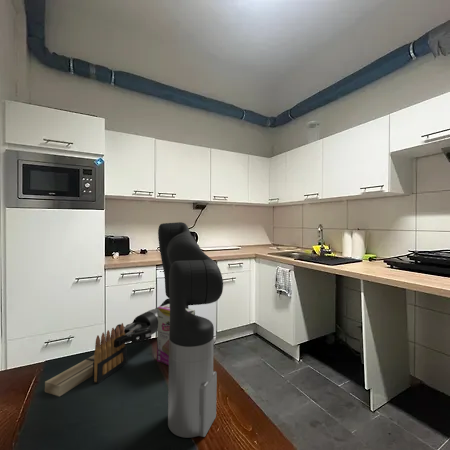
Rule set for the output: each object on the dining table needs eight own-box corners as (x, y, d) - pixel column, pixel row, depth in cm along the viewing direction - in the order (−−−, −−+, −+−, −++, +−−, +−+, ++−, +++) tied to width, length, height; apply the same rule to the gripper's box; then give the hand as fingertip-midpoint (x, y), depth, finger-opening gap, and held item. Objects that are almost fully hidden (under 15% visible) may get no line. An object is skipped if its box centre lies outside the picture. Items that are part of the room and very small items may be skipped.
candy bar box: (155, 361, 77) (156, 307, 78) (167, 355, 81) (168, 303, 82) (183, 373, 71) (184, 313, 72) (195, 365, 75) (195, 309, 76)
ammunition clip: (97, 384, 66) (97, 337, 66) (92, 382, 66) (92, 336, 66) (127, 362, 76) (127, 322, 76) (122, 361, 76) (121, 321, 76)
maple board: (110, 363, 76) (111, 355, 76) (59, 396, 61) (59, 385, 61) (97, 360, 77) (97, 352, 77) (44, 391, 62) (45, 381, 62)
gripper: (133, 309, 90) (93, 326, 74) (167, 313, 85) (132, 333, 69) (133, 330, 90) (92, 352, 74) (167, 336, 85) (131, 361, 69)
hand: (111, 343), depth 71 cm, fingers closed on ammunition clip, 1 cm apart
